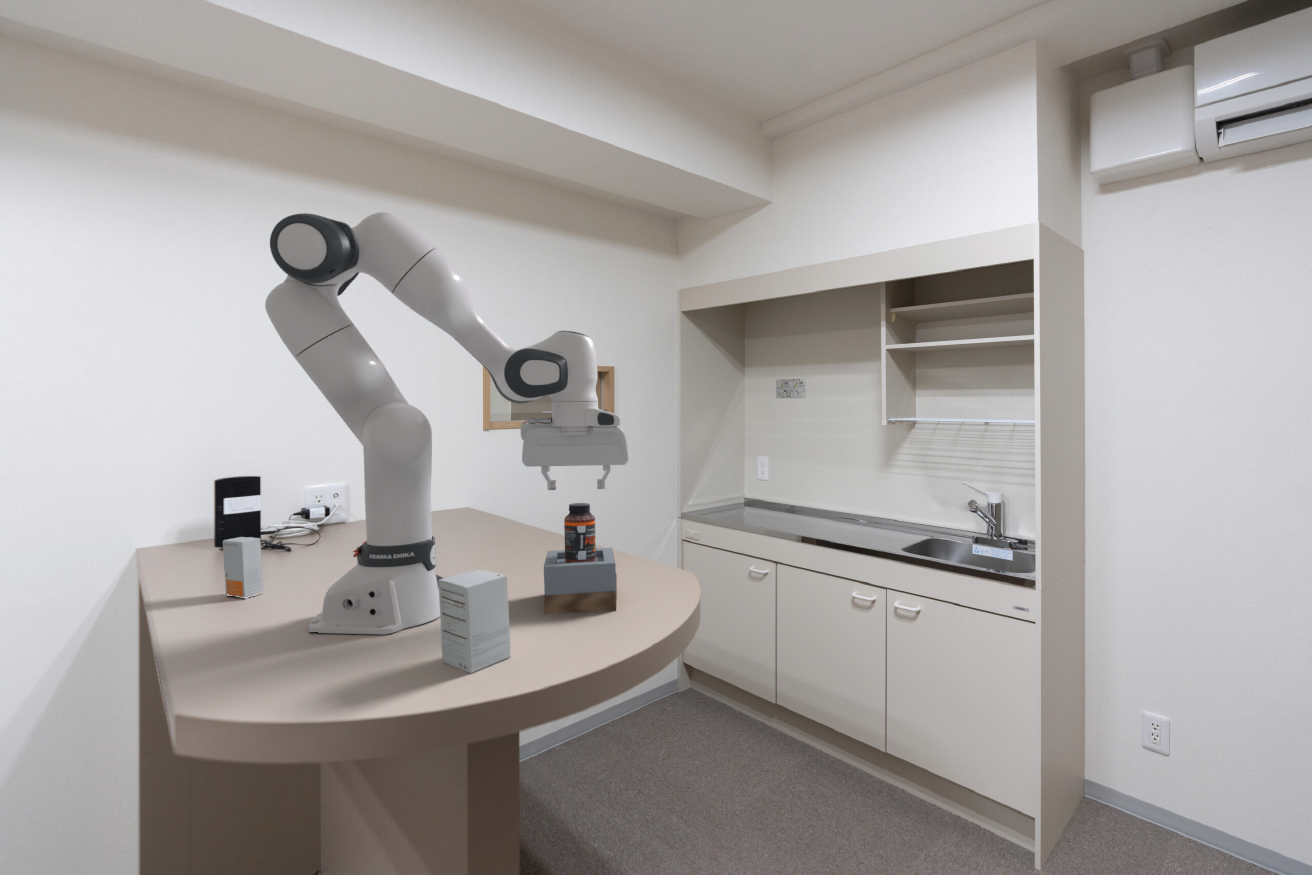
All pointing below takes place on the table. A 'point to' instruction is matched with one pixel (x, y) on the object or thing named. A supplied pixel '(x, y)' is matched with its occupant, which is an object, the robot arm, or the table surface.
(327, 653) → the table surface
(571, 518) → the supplement bottle
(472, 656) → the supplement box
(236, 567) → the skincare box
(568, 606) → the walnut bottom slab
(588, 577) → the slate grey top slab
